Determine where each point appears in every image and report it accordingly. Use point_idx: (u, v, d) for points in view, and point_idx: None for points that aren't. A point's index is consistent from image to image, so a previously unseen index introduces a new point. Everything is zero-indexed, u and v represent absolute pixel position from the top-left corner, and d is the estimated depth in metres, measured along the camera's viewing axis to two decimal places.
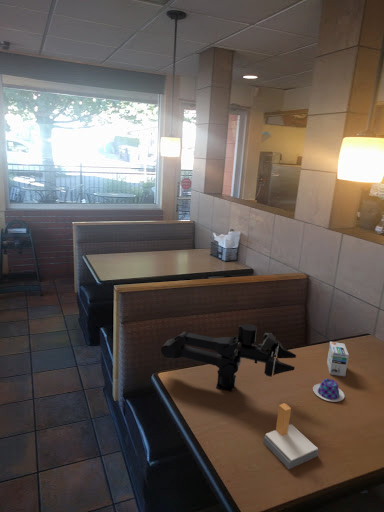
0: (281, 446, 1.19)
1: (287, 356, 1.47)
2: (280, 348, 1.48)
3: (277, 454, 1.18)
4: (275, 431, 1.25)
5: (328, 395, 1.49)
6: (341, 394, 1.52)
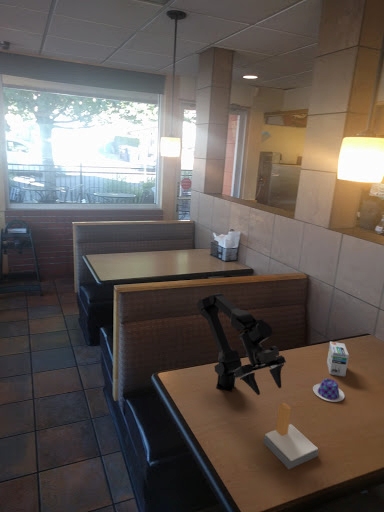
0: (281, 446, 1.19)
1: (275, 379, 1.33)
2: (276, 368, 1.32)
3: (277, 454, 1.18)
4: (275, 431, 1.25)
5: (328, 395, 1.49)
6: (341, 394, 1.52)
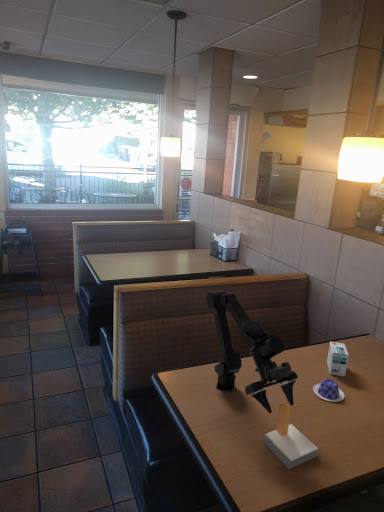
0: (281, 446, 1.19)
1: (287, 396, 1.28)
2: (288, 385, 1.28)
3: (277, 454, 1.18)
4: (275, 431, 1.25)
5: (329, 395, 1.49)
6: (341, 393, 1.52)
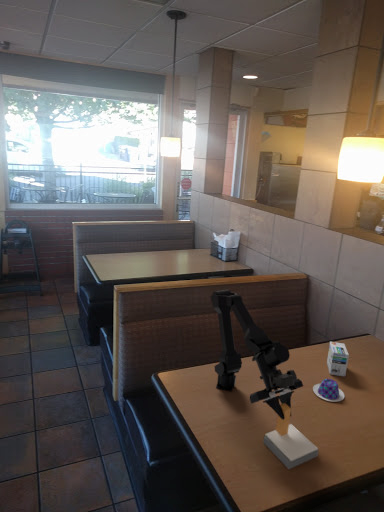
0: (281, 446, 1.19)
1: None
2: (286, 396, 1.24)
3: (277, 454, 1.18)
4: (275, 431, 1.25)
5: (329, 395, 1.48)
6: (341, 393, 1.52)
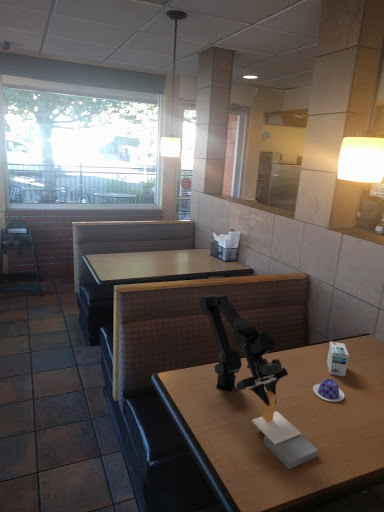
0: (266, 431, 1.25)
1: None
2: (271, 383, 1.30)
3: (277, 454, 1.18)
4: (261, 417, 1.31)
5: (330, 395, 1.48)
6: (341, 393, 1.52)
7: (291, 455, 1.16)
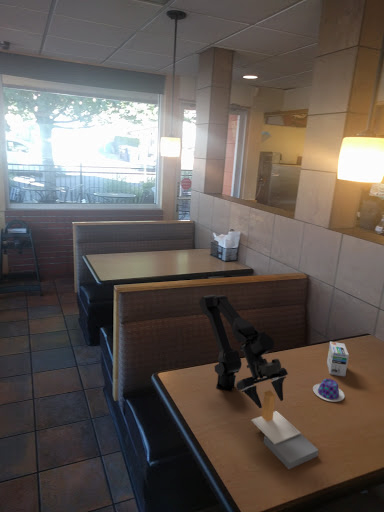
0: (266, 431, 1.25)
1: (277, 392, 1.32)
2: (278, 381, 1.32)
3: (277, 454, 1.18)
4: (261, 417, 1.31)
5: (330, 396, 1.48)
6: (340, 392, 1.53)
7: (291, 455, 1.16)
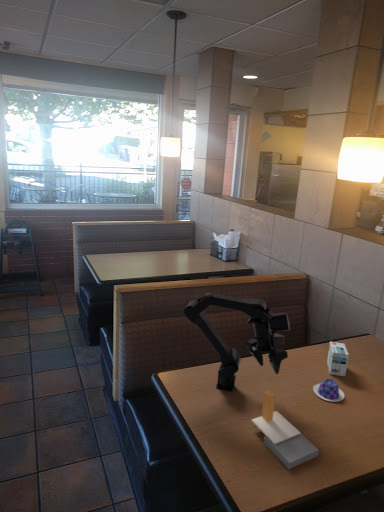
0: (266, 431, 1.25)
1: (258, 359, 1.50)
2: None
3: (277, 454, 1.18)
4: (261, 417, 1.31)
5: (331, 396, 1.48)
6: (340, 392, 1.53)
7: (291, 455, 1.16)
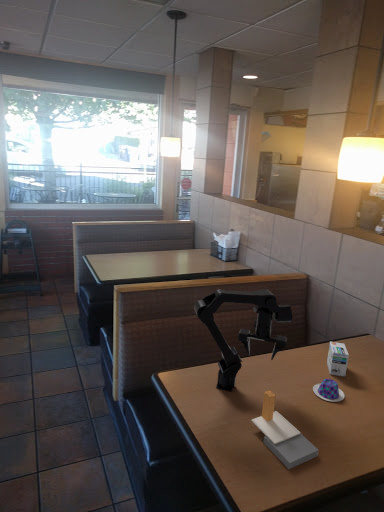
0: (266, 431, 1.25)
1: (249, 349, 1.52)
2: (249, 339, 1.54)
3: (277, 454, 1.18)
4: (261, 417, 1.31)
5: (331, 396, 1.48)
6: (340, 391, 1.53)
7: (291, 455, 1.16)
